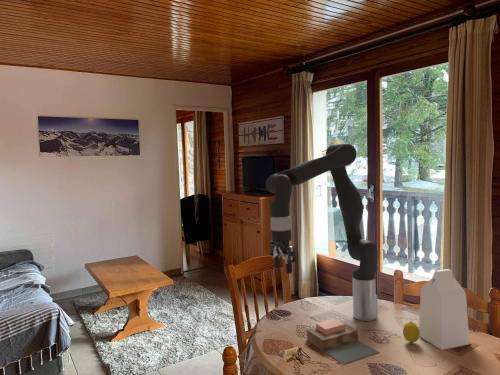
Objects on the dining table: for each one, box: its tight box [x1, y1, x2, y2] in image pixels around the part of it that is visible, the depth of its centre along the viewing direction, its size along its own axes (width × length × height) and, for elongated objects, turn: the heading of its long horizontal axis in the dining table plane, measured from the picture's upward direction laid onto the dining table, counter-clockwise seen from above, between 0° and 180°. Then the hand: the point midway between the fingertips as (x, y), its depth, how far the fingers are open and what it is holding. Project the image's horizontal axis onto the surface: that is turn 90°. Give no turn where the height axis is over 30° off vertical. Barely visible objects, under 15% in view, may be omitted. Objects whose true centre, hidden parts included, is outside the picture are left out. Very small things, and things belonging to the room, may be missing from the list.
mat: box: [323, 339, 380, 365], centre depth 133 cm, size 16×10×1 cm, turn 116°
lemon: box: [402, 321, 420, 344], centre depth 138 cm, size 6×6×8 cm
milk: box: [418, 268, 470, 351], centre depth 139 cm, size 12×12×26 cm
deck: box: [306, 320, 359, 352], centre depth 142 cm, size 16×10×4 cm, turn 116°
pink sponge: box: [315, 318, 345, 335], centre depth 143 cm, size 9×6×2 cm, turn 116°
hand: (283, 270), depth 143 cm, fingers open, 8 cm apart
